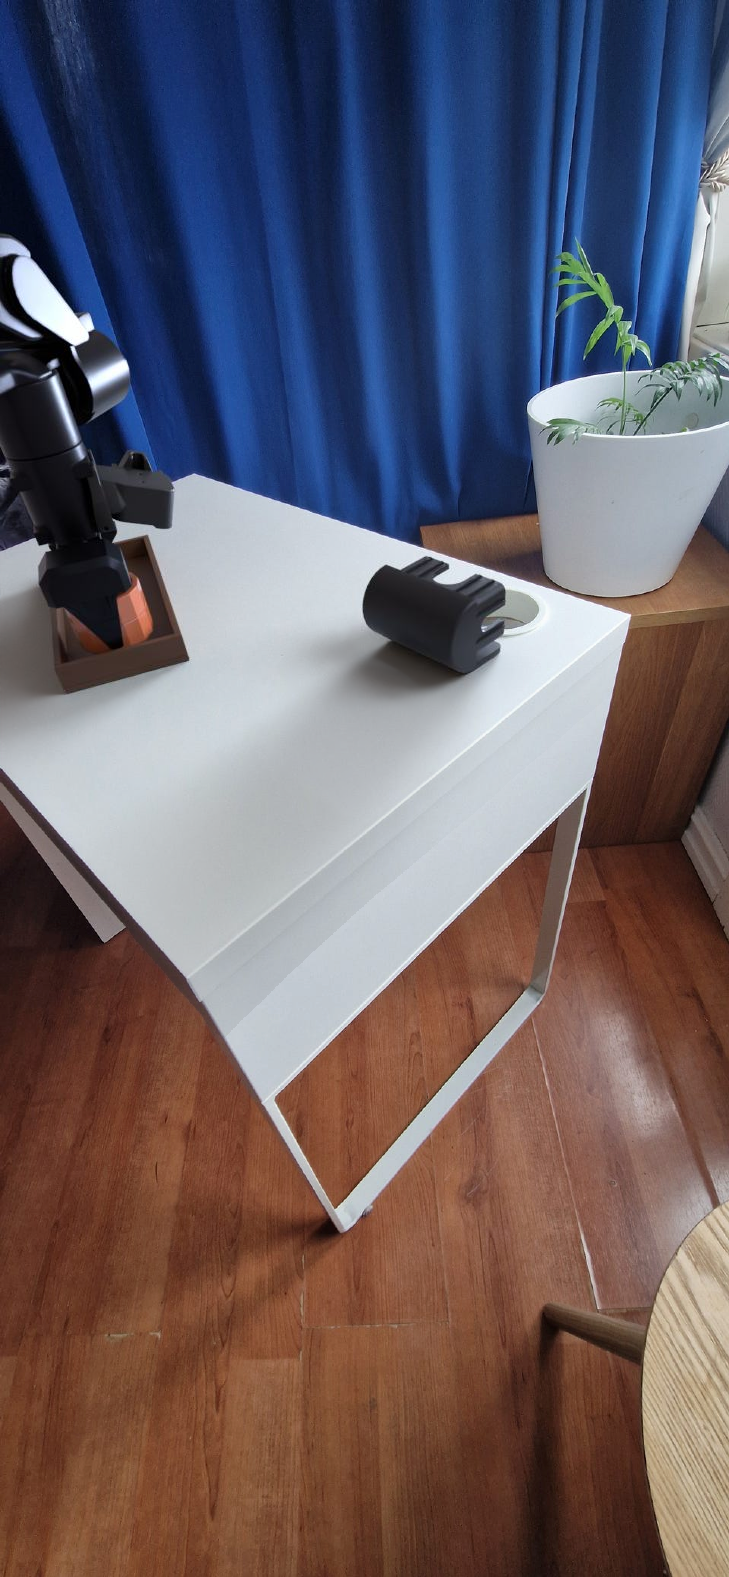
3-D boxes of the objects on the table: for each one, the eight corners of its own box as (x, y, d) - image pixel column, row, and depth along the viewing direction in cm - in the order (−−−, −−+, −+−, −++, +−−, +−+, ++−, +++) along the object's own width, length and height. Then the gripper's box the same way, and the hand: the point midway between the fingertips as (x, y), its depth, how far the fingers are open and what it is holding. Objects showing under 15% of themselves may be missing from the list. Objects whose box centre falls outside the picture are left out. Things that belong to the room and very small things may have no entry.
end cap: (365, 649, 62) (357, 578, 57) (421, 616, 65) (417, 545, 60) (450, 692, 56) (449, 616, 51) (507, 653, 59) (511, 578, 54)
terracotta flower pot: (98, 667, 61) (76, 616, 58) (72, 638, 65) (50, 589, 62) (167, 638, 64) (150, 587, 60) (137, 612, 68) (120, 563, 64)
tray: (189, 660, 63) (181, 634, 61) (65, 694, 61) (53, 669, 59) (154, 556, 80) (147, 534, 78) (56, 580, 78) (47, 558, 76)
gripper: (166, 460, 48) (221, 655, 59) (136, 398, 61) (185, 566, 72) (-3, 497, 46) (86, 692, 57) (4, 424, 59) (74, 594, 70)
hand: (114, 629), depth 64 cm, fingers closed on terracotta flower pot, 7 cm apart
